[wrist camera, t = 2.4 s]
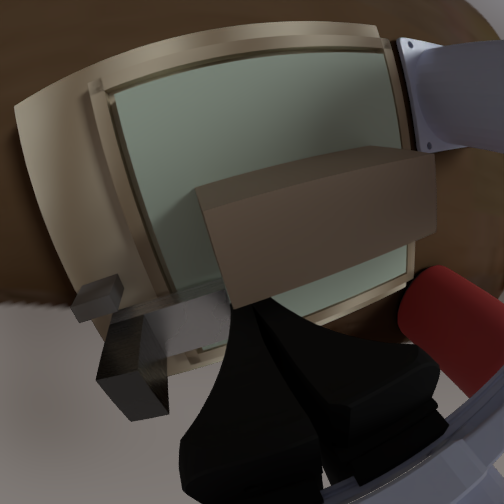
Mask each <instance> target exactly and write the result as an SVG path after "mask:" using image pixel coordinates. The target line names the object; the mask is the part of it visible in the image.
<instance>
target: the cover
mask: <svg viewBox="0 0 504 504" xmlns="http://www.w3.org/2000/svg"><path fill="white" fill-rule="evenodd" d="M114 97H115V101H116V105H117V110H118V114H119V118H120V122H121V126H122V129H123V133H124V137H125V141H126V144H127V148H128V151H129V155H130V158H131V162H132V165H133V168H134V172H135V175H136V178H137V182H138V185H139V188H140V191H141V194H142V197H143V200H144V203H145V206H146V209H147V212H148V215H149V218H150V221H151V224H152V227H153V230H154V232H155V235H156V238H157V241H158V243H159V246H160V249H161V251H162V254H163V257H164V259H165V262H166V265H167V267H168V270H169V272H170V275H171V277H172V280H173V282H174V285H175V287H176V290H177V291H180V290H183V289H187V288H190V287H193V286H196V285H199V284H202V283H205V282H208V281H212V280H215V279H218V278H221V277H222V280H223V283H224V286H225V288H226V291H227V295H228V298H229V301H230V303H231V304H232V307H233V309H237V308H240V307H243V306H246V305H249V304H252V303H255V302H258V301H261V300H264V299H267V298H269V297H271V298H273V299H274V300H275V301H277V302H278V303H280V304H281V305H283V306H284V307H286V308H287V309H289V310H291V311H292V312H294V313H296V314H297V315H299V316H301V317H303V316H305V315H308V314H310V313H313V312H315V311H318V310H321V309H323V308H326V307H328V306H330V305H333V304H335V303H338V302H340V301H343V300H345V299H347V298H350V297H352V296H354V295H357V294H359V293H361V292H364V291H366V290H368V289H370V288H373V287H375V286H377V285H379V284H382V283H384V282H386V281H388V280H390V279H392V278H395V277H397V276H399V275H401V274H403V273H405V272H406V251H407V244H410V243H412V242H414V241H417V240H419V239H421V238H424V237H426V236H428V235H430V234H433V233H435V232H436V224H437V192H436V169H435V155H434V154H432V153H426V152H420V151H413V150H406V149H401V142H400V134H399V127H398V121H397V115H396V109H395V104H394V98H393V93H392V89H391V84H390V79H389V75H388V71H387V67H386V63H385V59H384V55H383V54H377V53H355V52H323V53H301V54H287V55H276V56H267V57H259V58H252V59H245V60H239V61H233V62H227V63H222V64H217V65H212V66H207V67H203V68H198V69H194V70H190V71H186V72H182V73H178V74H175V75H171V76H167V77H164V78H160V79H157V80H154V81H151V82H148V83H144V84H141V85H138V86H135V87H133V88H130V89H127V90H124V91H122V92H119V93H116V94H114ZM227 341H228V339H226V340H223V341H220V342H217V343H214V344H210V345H207V346H204V347H202V349H203V350H206V349H210V348H213V347H216V346H219V345H223V344H226V343H227Z"/></svg>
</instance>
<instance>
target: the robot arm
mask: <svg viewBox="0 0 504 504" xmlns="http://www.w3.org/2000/svg"><path fill="white" fill-rule="evenodd" d="M396 43H397V47H398V51H399V55H400V59H401V63H402V67H403V71H404V75H405V80H406V84H407V89H408V94H409V99H410V105H411V111H412V117H413V123H414V130H415V138H416V147H417V150H418V151H420V152H426V153H433V152H439V151H445V150H451V149H457V148H463V147H473V148H479V149H484V150H489V151H494V152H499V153H503V154H504V40H492V41H480V42H471V43H462V44H455V45H448V46H442V45H438V44H433V43H429V42H424V41H420V40H414V39H409V38H403V37H402V38H398V39H397V41H396ZM408 45H409V46H408ZM427 144H428V147H427ZM230 311H231V317H230V329H229V336H228V341H227V346H226V351H225V355H224V358H223V362H222V365H221V368H220V371H219V374H218V376H217V379H216V381H215V384H214V386H213V388H212V390H211V393H210V395H209V396H208V398H207V400H206V402H205V404H204V406H203V407H202V409H201V411H200V413H199V414H198V416H197V418H196V419H195V421H194V422H193V424H192V425H191V426H190V428H189V429H188V430H187V432H186V433H185V435H184V436H183V437H182V439H181V440H180V449H179V472H180V478H181V484H182V490H183V491H184V492H185V493H186V494H187V495H189V496H190V497H192V498H193V499H195V500H196V501H198V502H200V503H201V504H348V503H349V504H504V478H503V477H502V475H501V474H500V473H499V472H498V471H497V469H496V468H495V467H494V466H493V463H494V462H495V461H496V460H497V459H498V458H499V457H500V456H501V455H502V454H503V453H504V365H503V366H502V367H501V368H500V370H499V371H498V372H497V373H496V374H495V375H494V376H493V377H492V378H491V379H490V380H489V381H488V382H487V383H486V384H485V385H484V386H483V387H481V388H480V389H479V390H478V391H477V392H476V393H475V394H474V395H473V396H472V397H471V398H469V399H468V400H467V401H466V402H465V403H464V404H462V405H461V406H460V407H459V408H458V409H457V410H455V411H454V412H453V413H452V414H450V415H449V416H448V417H447V418H445V419H444V418H443V417H442V416H441V414H439V412H438V411H437V410H436V409H437V408H438V404H437V403H436V401H435V400H434V399H433V398H432V395H433V393H434V390H435V388H436V385H437V382H438V379H439V375H440V366H439V364H438V363H437V362H436V361H435V360H434V359H433V358H432V357H431V356H430V355H429V354H428V353H427V352H425V351H424V350H423V349H422V348H420V347H419V346H418V345H416V344H396V343H384V342H378V341H371V340H366V339H361V338H356V337H352V336H349V335H345V334H341V333H338V332H335V331H332V330H329V329H327V328H324V327H322V326H319V325H317V324H315V323H313V322H311V321H309V320H307V319H305V318H303V317H301V316H299V315H297V314H296V313H294V312H292V311H291V310H289V309H287V308H286V307H284V306H283V305H281V304H280V303H278V302H277V301H275V300H274V299H273V298H271V297H269V298H267V299H264V300H261V301H258V302H255V303H252V304H249V305H246V306H243V307H240V308H237V309H233V307H232V304H231V303H230ZM430 455H431V456H430ZM429 456H430V457H429ZM426 458H427V459H426ZM425 459H426V460H425ZM423 460H424V461H423ZM422 461H423V462H422ZM420 462H421V463H420ZM419 463H420V464H419ZM417 464H418V465H417ZM416 465H417V466H416ZM322 466H323V468H324V471H325V473H326V475H327V477H328V480H329V482H330V484H331V486H330V487H327V488H325V489H323V482H322V473H323V470H322ZM414 466H415V467H414ZM413 467H414V468H413ZM411 468H412V469H411ZM410 469H411V470H410ZM408 470H409V471H408ZM407 471H408V472H407ZM405 472H406V473H405ZM403 473H405V474H403ZM402 474H403V475H402ZM400 475H401V476H400ZM399 476H400V477H399ZM397 477H398V478H397ZM395 478H396V479H395ZM394 479H395V480H394ZM392 480H393V481H392ZM390 481H391V482H390ZM389 482H390V483H389ZM387 483H388V484H387ZM385 484H386V485H385ZM383 485H384V486H383ZM382 486H383V487H382ZM380 487H381V488H380ZM378 488H379V489H378ZM376 489H377V490H376ZM374 490H375V491H374ZM372 491H374V492H372ZM370 492H372V493H370ZM368 493H370V494H368ZM366 494H368V495H366ZM364 495H366V496H364ZM362 496H364V497H362ZM360 497H362V498H360ZM358 498H360V499H358ZM356 499H358V500H356ZM354 500H356V501H354ZM352 501H354V502H352ZM350 502H351V503H350Z"/></svg>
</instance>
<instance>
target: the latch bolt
mask: <svg viewBox="0 0 504 504" xmlns="http://www.w3.org/2000/svg"><path fill="white" fill-rule="evenodd" d="M230 317H231V311H230V301H229V298H228V295H227V291H226V288H225V286H224V283H223V280H222V277H221V278H218V279H215V280H212V281H208V282H205V283H202V284H199V285H196V286H193V287H190V288H187V289H183V290H180V291H177V292H174V293H171V294H168V295H164V296H161V297H158V298H155V299H152V300H148V301H145V302H142V303H139V304H136V305H132V306H129V307H126V308H123V309H119V310H118V312H114V313H113V314H112V318H111V321H110V325H109V328H108V332H107V336H106V339H105V343H104V347H103V351H102V355H101V359H100V363H99V367H98V372H97V376H96V381H97V383H98V384H99V385H100V386H101V388H102V389H103V390H104V391H105V393H106V394H107V395H108V396H109V397H110V399H111V400H112V401H113V402H114V403H115V404H116V406H117V407H118V408H119V409H120V410H121V411H122V412H123V414H124V415H125V416H126V417H127V418H128V419H129V420H130V421H131V422H132V421H138V420H143V419H149V418H154V417H158V416H163V415H168V414H169V401H168V378H167V357H170V356H173V355H177V354H180V353H184V352H187V351H191V350H194V349H197V348H201V347H204V346H207V345H210V344H214V343H217V342H220V341H223V340H226V339H228V336H229V329H230Z"/></svg>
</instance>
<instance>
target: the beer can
mask: <svg viewBox="0 0 504 504" xmlns="http://www.w3.org/2000/svg"><path fill="white" fill-rule="evenodd" d="M398 326H399V328H400V330H401V332H402V333H403V334H404V335H405V336H406V337H407V338H408V339H409V340H411V341H412V342H413V343H414V344H416V345H418V346H419V347H420V348H422V349H423V350H424V351H425V352H427V353H428V354H429V355H430V356H431V357H432V358H433V359H434V360H435V361H436V362H437V363H438V364H439V366H440V369H441V370H442V371H443V372H444V373H445V374H446V375H447V376H448V377H449V378H450V379H451V380H452V381H453V382H454V383H455V384H456V385H457V386H458V387H459V388H460V389H461V390H462V391H463V392H464V393H465V394H466V396H468V398H471V397H472V396H473V395H474V394H475V393H476V392H477V391H478V390H479V389H480V388H481V387H483V386H484V385H485V384H486V383H487V382H488V381H489V380H490V379H491V378H492V377H493V376H494V375H495V374H496V373H497V372H498V371H499V370H500V368H501V367H502V366H503V365H504V304H503V303H502V302H501V301H499V300H498V299H496V298H495V297H493V296H492V295H490V294H489V293H487V292H485V291H484V290H482V289H481V288H479V287H478V286H476V285H475V284H473V283H471V282H470V281H468V280H466V279H465V278H463V277H462V276H460V275H458V274H457V273H455V272H453V271H452V270H450V269H448V268H447V267H444V266H441V265H436V266H432V267H429V268H427V269H426V270H424V271H422V272H421V273H420V274H419V275H418V276H417V277H416V278H415V279H414V280H413V281H412V282H411V284H410V285H409V286H408V288H407V289H406V291H405V293H404V295H403V297H402V299H401V301H400V305H399V309H398Z"/></svg>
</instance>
